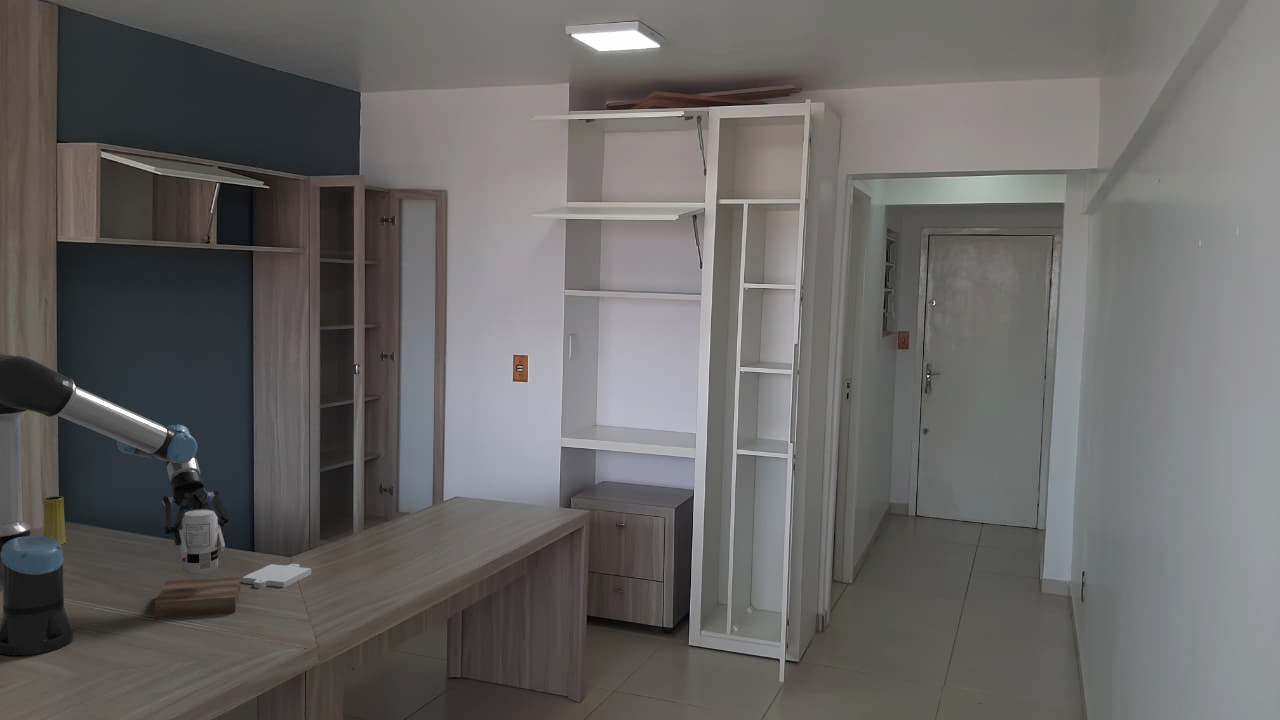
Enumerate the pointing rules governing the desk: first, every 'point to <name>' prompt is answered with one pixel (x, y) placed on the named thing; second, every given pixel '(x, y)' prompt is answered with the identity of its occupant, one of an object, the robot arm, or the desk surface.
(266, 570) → the mounting plate
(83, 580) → the desk surface
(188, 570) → the supplement can
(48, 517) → the vase
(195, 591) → the walnut riser
